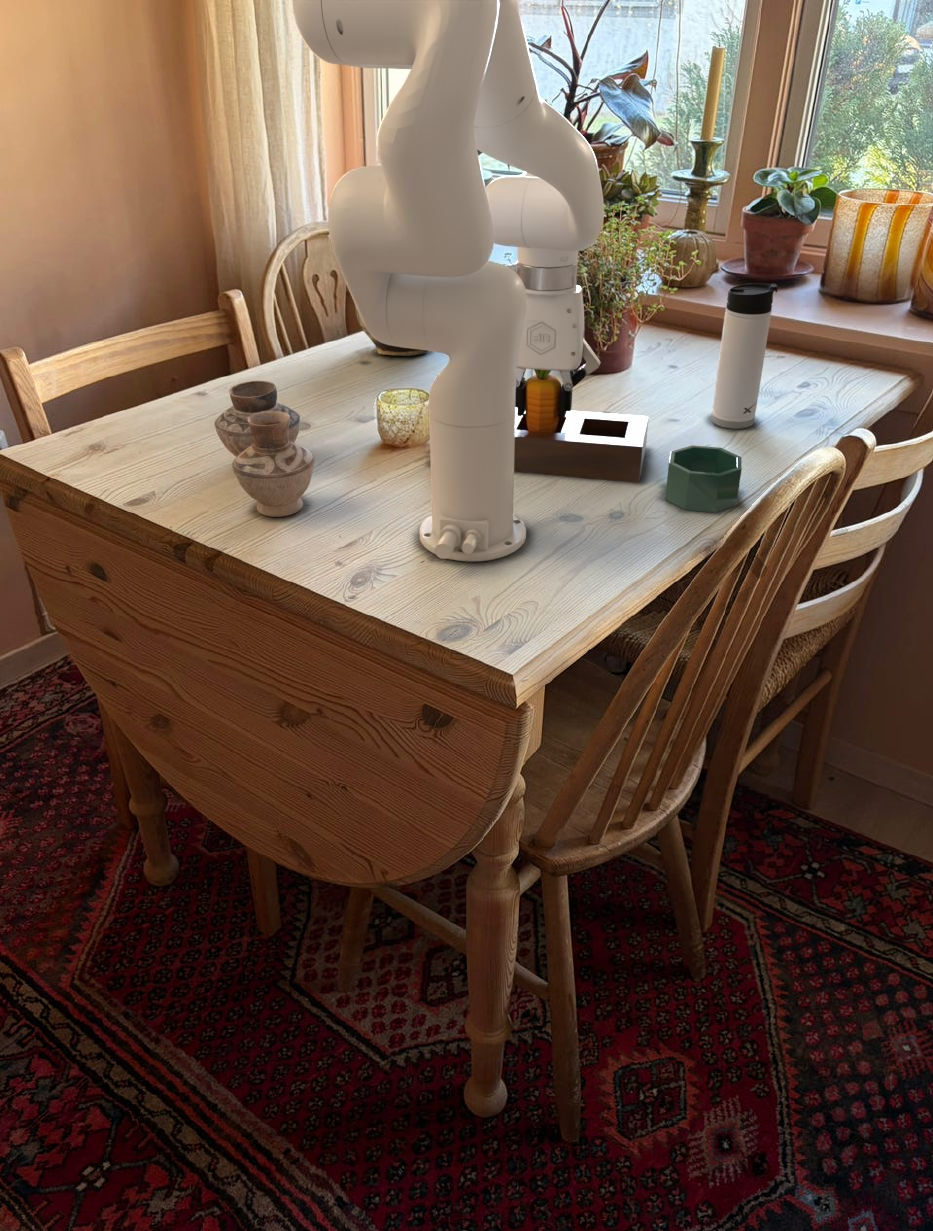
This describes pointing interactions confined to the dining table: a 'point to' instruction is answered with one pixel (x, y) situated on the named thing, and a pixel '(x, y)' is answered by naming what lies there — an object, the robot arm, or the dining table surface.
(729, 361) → the travel mug
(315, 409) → the dining table surface
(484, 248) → the robot arm
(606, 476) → the rack
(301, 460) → the pottery
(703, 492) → the holder
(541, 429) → the carrot
